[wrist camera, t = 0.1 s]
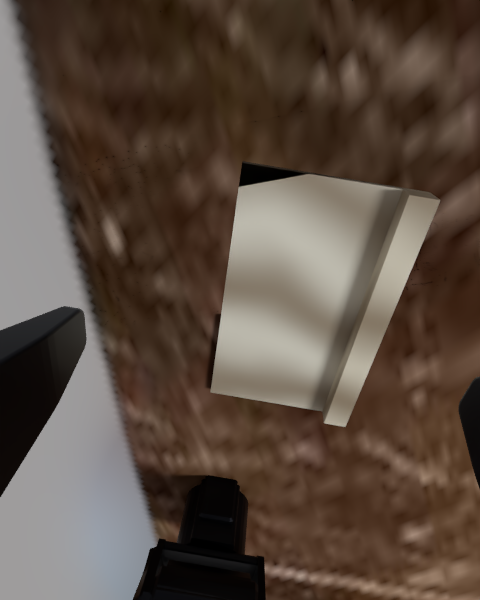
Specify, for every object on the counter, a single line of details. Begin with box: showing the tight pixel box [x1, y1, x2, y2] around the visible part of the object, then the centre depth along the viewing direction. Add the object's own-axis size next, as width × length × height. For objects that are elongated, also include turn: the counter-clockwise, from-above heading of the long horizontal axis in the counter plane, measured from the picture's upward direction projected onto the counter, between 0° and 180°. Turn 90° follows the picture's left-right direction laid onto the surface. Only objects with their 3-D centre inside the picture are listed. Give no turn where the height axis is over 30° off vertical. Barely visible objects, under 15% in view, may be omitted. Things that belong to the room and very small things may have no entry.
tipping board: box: [211, 161, 440, 427], centre depth 23 cm, size 16×10×2 cm, turn 172°
